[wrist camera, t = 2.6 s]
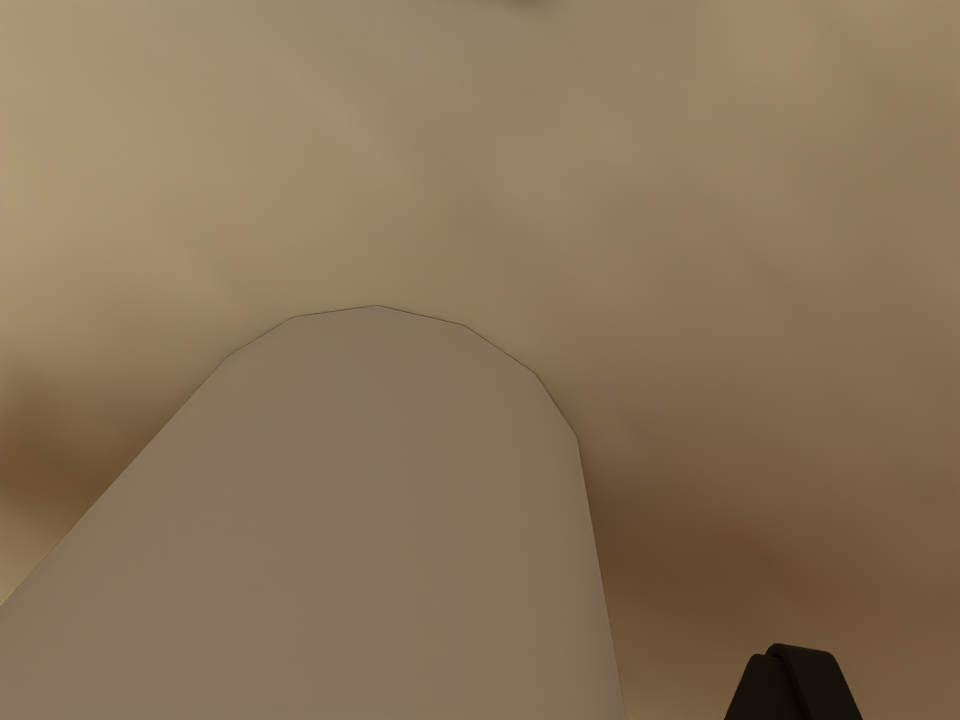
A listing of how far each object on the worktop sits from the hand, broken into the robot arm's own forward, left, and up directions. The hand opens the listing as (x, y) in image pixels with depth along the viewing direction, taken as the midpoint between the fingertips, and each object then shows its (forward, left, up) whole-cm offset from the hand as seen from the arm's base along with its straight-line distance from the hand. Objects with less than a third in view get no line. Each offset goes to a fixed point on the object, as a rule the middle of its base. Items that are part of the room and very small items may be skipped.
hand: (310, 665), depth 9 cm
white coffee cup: (0, 0, -3) cm, 3 cm away
